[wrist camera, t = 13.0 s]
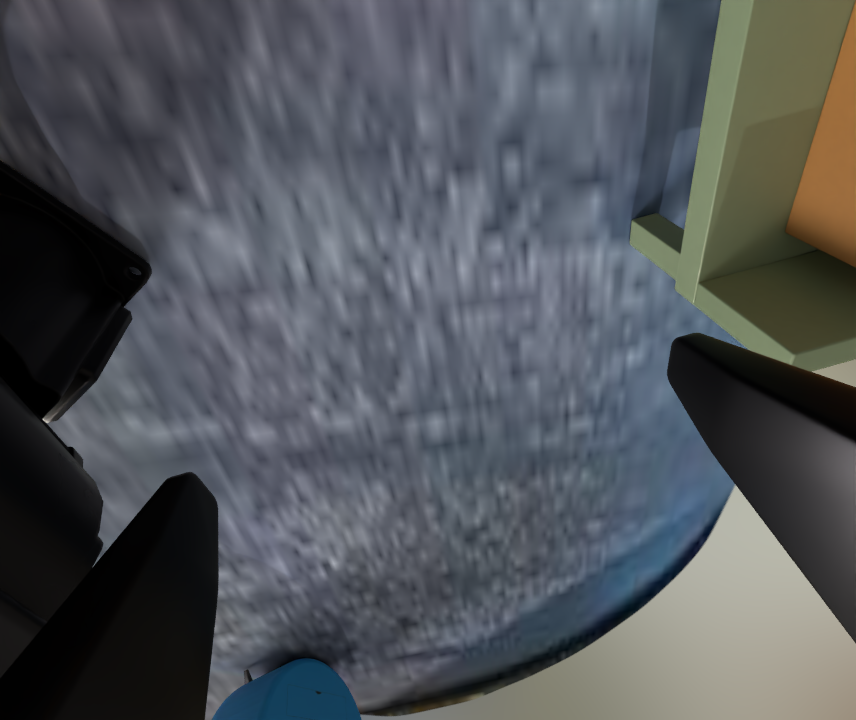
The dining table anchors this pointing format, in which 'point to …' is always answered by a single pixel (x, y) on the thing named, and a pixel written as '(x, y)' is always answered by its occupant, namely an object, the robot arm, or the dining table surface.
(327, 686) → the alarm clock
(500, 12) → the dining table surface
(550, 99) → the dining table surface
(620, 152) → the dining table surface
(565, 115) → the dining table surface
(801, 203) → the case
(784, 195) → the green toy bench
